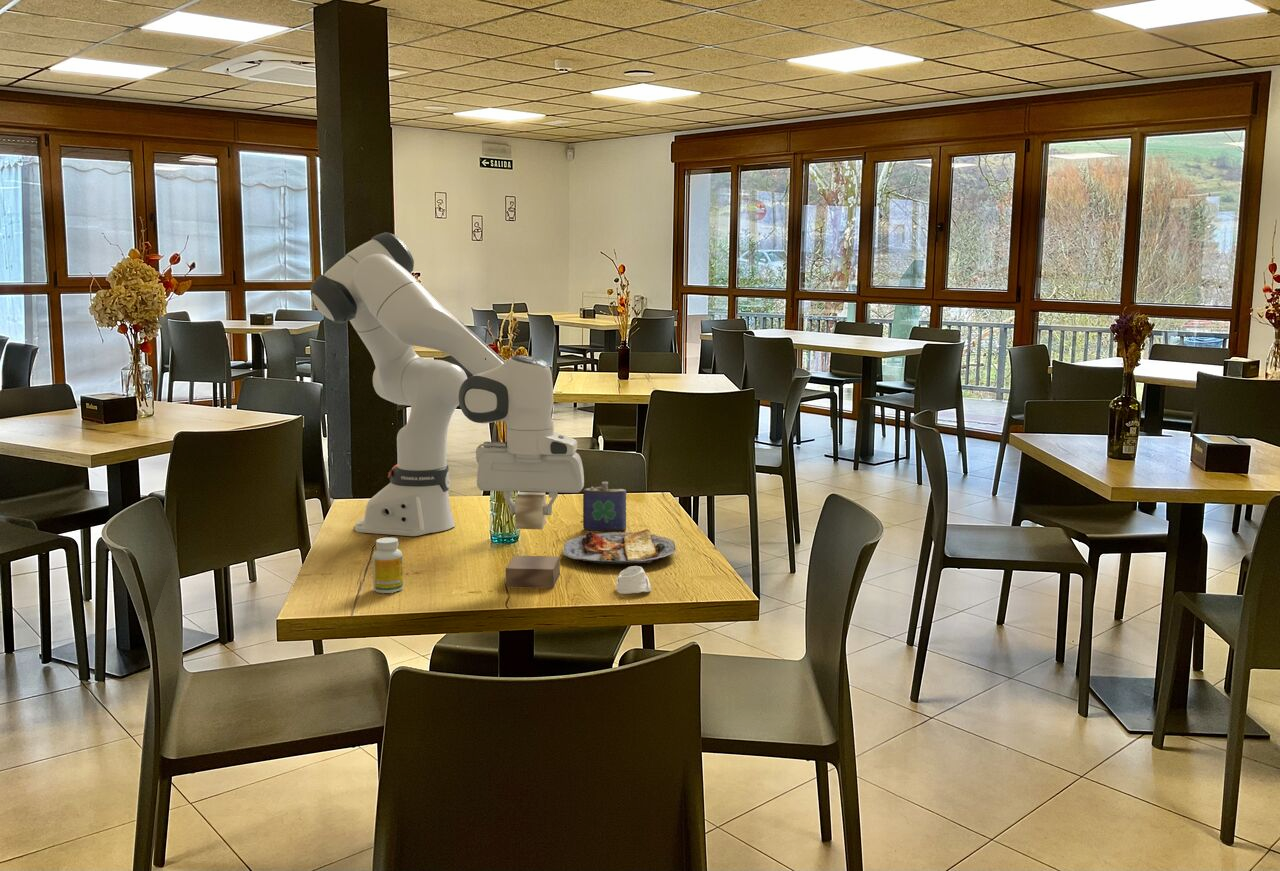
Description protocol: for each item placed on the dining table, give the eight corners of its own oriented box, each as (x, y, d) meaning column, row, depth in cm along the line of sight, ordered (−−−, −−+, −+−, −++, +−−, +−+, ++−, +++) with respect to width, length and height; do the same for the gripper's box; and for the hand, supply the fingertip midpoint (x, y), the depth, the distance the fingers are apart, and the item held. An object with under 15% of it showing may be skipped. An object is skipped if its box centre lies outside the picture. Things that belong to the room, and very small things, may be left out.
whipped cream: (654, 601, 196) (657, 576, 195) (618, 600, 195) (621, 575, 194) (646, 585, 204) (649, 561, 203) (611, 584, 203) (614, 560, 202)
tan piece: (515, 528, 201) (515, 497, 200) (520, 522, 205) (519, 492, 205) (541, 529, 200) (541, 498, 199) (545, 523, 205) (545, 492, 204)
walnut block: (506, 588, 201) (505, 568, 200) (514, 575, 210) (514, 555, 209) (553, 589, 200) (553, 569, 200) (559, 576, 209) (559, 556, 208)
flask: (626, 529, 245) (626, 480, 243) (625, 532, 242) (625, 483, 240) (583, 528, 245) (583, 479, 244) (582, 532, 242) (581, 482, 240)
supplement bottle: (369, 588, 199) (368, 538, 198) (397, 584, 202) (396, 534, 201) (379, 595, 195) (377, 545, 193) (407, 591, 198) (405, 541, 196)
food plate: (567, 540, 236) (567, 524, 235) (672, 540, 236) (672, 525, 236) (560, 572, 211) (560, 555, 211) (677, 572, 212) (677, 555, 211)
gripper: (472, 444, 198) (473, 516, 200) (581, 446, 197) (581, 519, 199) (479, 438, 204) (480, 509, 206) (585, 440, 203) (585, 511, 205)
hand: (530, 514), depth 203 cm, fingers closed on tan piece, 5 cm apart
